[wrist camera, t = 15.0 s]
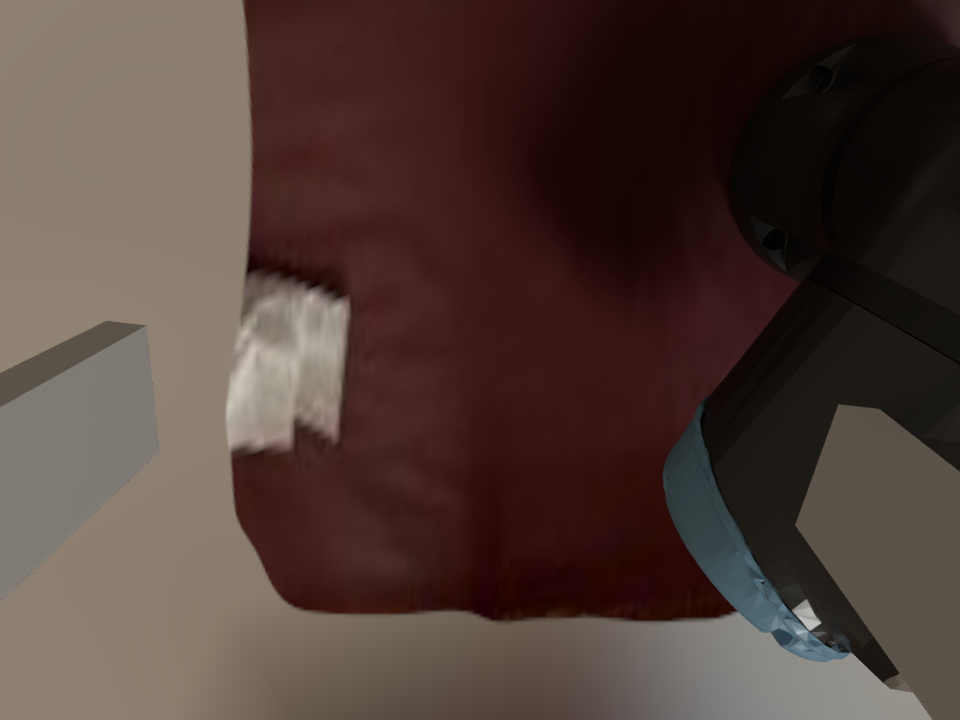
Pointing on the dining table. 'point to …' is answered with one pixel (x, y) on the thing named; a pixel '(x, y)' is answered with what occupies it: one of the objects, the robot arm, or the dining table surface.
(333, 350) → the dining table surface
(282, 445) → the dining table surface
